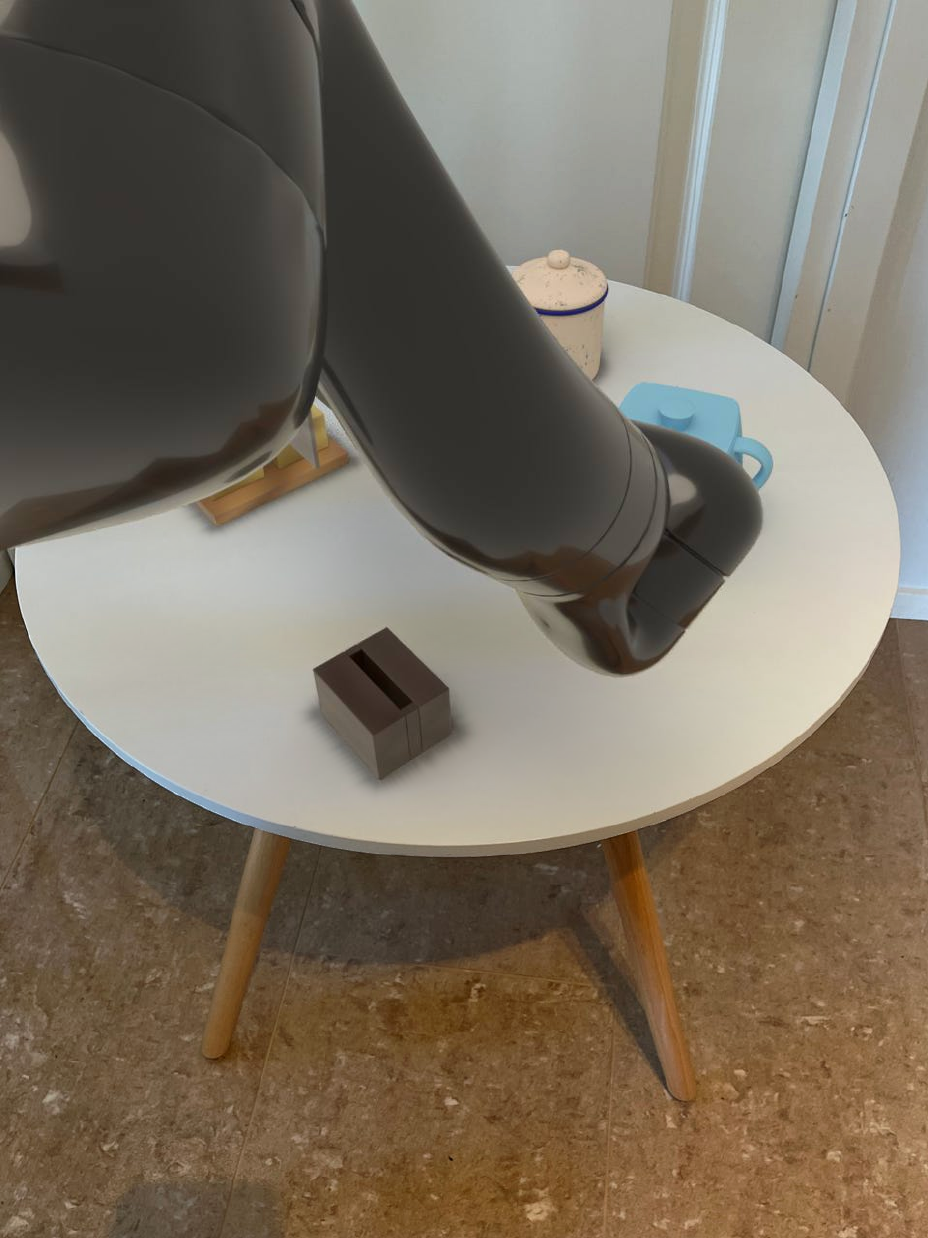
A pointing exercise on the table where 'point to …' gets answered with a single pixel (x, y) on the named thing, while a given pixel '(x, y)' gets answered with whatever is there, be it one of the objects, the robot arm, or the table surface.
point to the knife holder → (383, 702)
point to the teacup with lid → (568, 303)
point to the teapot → (698, 420)
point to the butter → (275, 477)
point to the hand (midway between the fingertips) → (241, 251)
